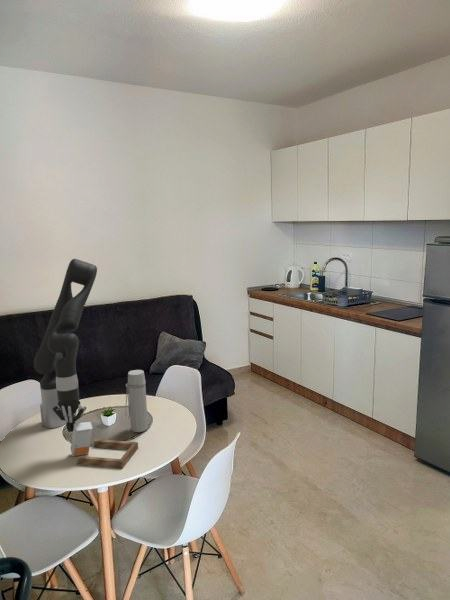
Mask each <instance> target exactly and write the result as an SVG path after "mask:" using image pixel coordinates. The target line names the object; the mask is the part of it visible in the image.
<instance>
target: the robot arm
mask: <svg viewBox="0 0 450 600" xmlns="http://www.w3.org/2000/svg"><path fill="white" fill-rule="evenodd" d="M97 272H98V267H97V266H96V265H95V264H92V263H89V262H87V261H83V260H80V259H78V258H73V259H72V258H71V260H70V262H69V263H68V265H67V268H66V272H65V275H64V277H63V278H64V279H63V282H62V286H61V289H60V292H59V296H58V298H57V300H56V303H55V305H54V308H53V311H52V312H51V313H52V314H51V317H50V318H49V319H50V320H49V323H48V326H47V328H46V331H45V334H44V336H43V340H42V341H41V343H40V347H39V348H38V351H37V352H36V354H35V357H34V360H33V367H34V369H35V371H36V372H37V373H39V374H40V375H43V376H42V378H41V380H40V382H39V387H40V389H39V390H40V397H41V404H40V407H39V409H40V418H41V426H42V427H45V428H46V429H54V428H59V427H62V426H66V430H67V432H69V433H73V429H74V424H76V422H77V421H78V420H80V419H81V417H82V415H83V414H85V412H86V410H87V406H83V405H82V404H81V401H80V391H79V390H80V389H79V379H78V375H77V365H76V361H77V355H78V349H79V346H80V345H79V344H80V340H79V338H78V335H76V334H75V333H72V332H74V331H76V330H77V329H78V328H79V324H80V321H81V318H82V313H83V311H84V308H85V306H86V303H87V301H88V298H89V297H90V296H89V295H90V293H91V290H92V289H93V286H94V282H95V281H96V277H97V274H98V273H97ZM73 283H74V284H78V285H80V286H81V285H82V286H83V287H82V289H81V291H79V292H78V293H77V294H76V295H75V296H73V292H72V284H73ZM65 353H66V356H65V357H64V356H63V354H65Z"/></svg>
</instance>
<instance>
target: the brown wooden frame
mask: <svg viewBox="0 0 450 600" xmlns="http://www.w3.org/2000/svg"><path fill="white" fill-rule="evenodd" d="M93 447H94V448H101V447H102V448H103V449H104V448H105V449H115V450H126V451H125V453H124V454H123V455H122V457H120V458H111V457H99V456H88V455H87V456H86V455H77V457H76V465H80V466H90V467H91V466H93V467H105V468H116V469H124V467H125V466H126V465H127V464H128V463H129V461H130V460H131V458H132V457H133V456H134V455H135V454H136V452H137V450H138V449H139V443H138V441H124V440H113V439H100V438H99V439H98V438H95V439H94V440H93ZM102 448H101V449H102Z"/></svg>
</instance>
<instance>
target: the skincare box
mask: <svg viewBox="0 0 450 600" xmlns="http://www.w3.org/2000/svg"><path fill="white" fill-rule="evenodd" d="M93 430H94V427H93V425H92V422H91V421H87V422H86V421H85V422H83V421H81V422H75V424H74V429H73V432H72V437H71V443H70V451H71V455H72V457H75V456H77V457H78V456H84V455H88V454H89V453H90V446H91V441H92V435H93Z"/></svg>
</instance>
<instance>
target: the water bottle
mask: <svg viewBox="0 0 450 600" xmlns="http://www.w3.org/2000/svg"><path fill="white" fill-rule="evenodd" d="M146 383H147V381H146V376H145V371H144V370H142V369H134V370H129V371H128V373H127V383H126V384H125V388H126V394H125V395H126V396H125V408H127V407H128V414H129V415H128V414H127V409H125V413H124V414H125V417H126V419H130V430H131V432H133V433H137V432H138V433H142V432H145V431H147V429H148V428H149V424H148V421H149V420H148V407H147V389H146ZM127 404H128V406H127Z"/></svg>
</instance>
